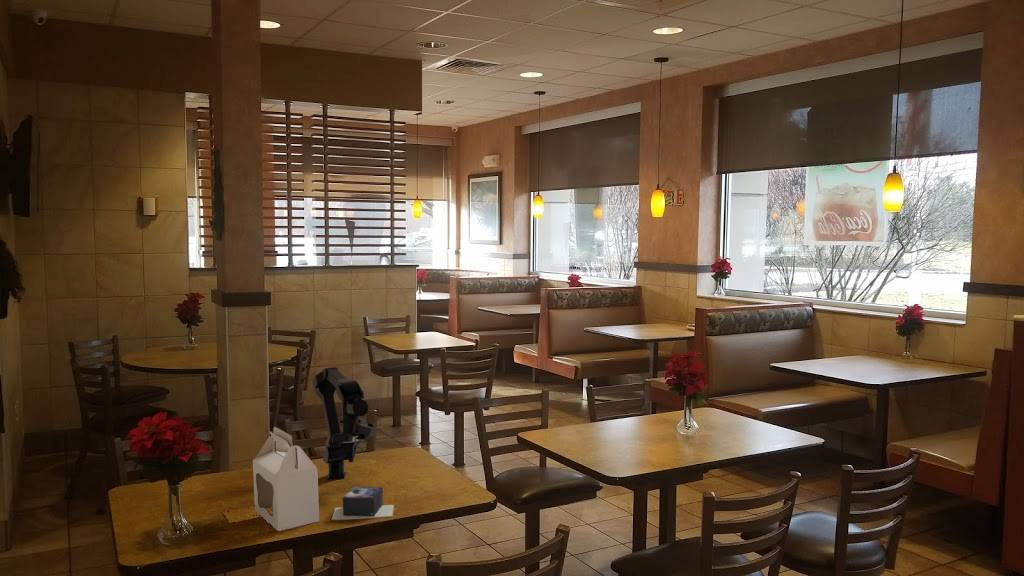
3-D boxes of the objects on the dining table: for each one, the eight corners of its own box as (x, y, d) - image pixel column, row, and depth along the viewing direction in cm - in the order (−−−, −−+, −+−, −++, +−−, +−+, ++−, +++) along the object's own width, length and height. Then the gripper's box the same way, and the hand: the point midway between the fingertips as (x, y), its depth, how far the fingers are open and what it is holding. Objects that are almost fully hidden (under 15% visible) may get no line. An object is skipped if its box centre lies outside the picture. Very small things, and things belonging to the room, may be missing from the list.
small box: (382, 485, 251) (374, 497, 241) (383, 504, 252) (375, 517, 242) (351, 485, 252) (342, 496, 242) (352, 504, 253) (342, 516, 242)
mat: (335, 509, 250) (335, 507, 250) (393, 505, 252) (393, 504, 252) (331, 520, 240) (331, 519, 240) (392, 517, 242) (392, 515, 242)
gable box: (254, 511, 249) (251, 427, 247) (293, 502, 257) (290, 421, 255) (278, 532, 231) (275, 442, 229) (319, 521, 239) (316, 434, 237)
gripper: (361, 416, 257) (362, 463, 254) (381, 415, 275) (383, 459, 272) (330, 418, 259) (331, 464, 257) (353, 416, 277) (354, 460, 275)
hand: (351, 462), depth 265 cm, fingers closed
